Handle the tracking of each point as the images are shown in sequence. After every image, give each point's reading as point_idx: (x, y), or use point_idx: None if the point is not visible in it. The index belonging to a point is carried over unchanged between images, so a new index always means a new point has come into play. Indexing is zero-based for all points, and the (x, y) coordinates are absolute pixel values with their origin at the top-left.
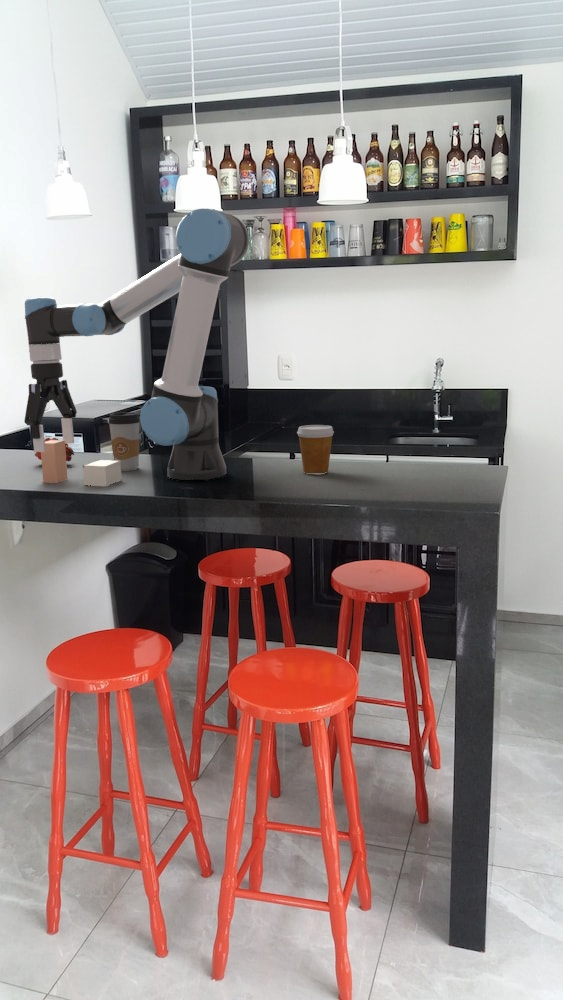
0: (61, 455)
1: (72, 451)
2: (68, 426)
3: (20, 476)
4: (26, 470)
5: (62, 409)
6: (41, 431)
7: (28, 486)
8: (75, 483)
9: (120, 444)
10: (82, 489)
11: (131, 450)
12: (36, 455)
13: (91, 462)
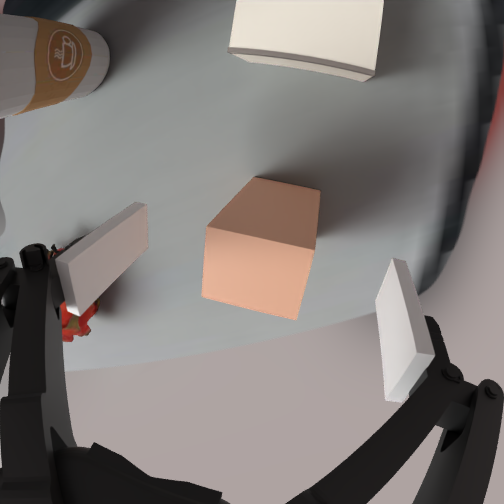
0: (265, 210)
1: (48, 252)
2: (99, 255)
3: (222, 324)
4: (150, 327)
5: (55, 338)
6: (427, 328)
7: (370, 264)
8: (325, 124)
9: (56, 52)
10: (424, 74)
11: (63, 25)
12: (89, 330)
13: (299, 58)
